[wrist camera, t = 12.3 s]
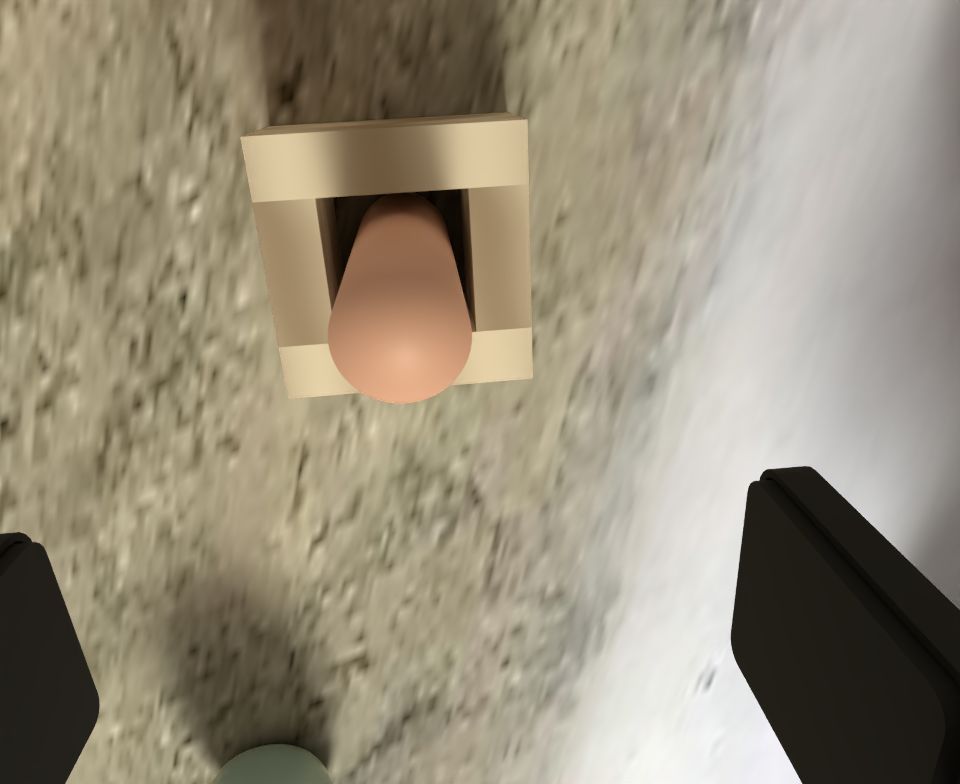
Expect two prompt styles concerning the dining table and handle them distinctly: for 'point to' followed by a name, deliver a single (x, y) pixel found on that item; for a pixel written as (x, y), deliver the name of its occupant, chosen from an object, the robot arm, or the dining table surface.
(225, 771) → the cup
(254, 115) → the dining table surface
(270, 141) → the bore block
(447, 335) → the long pin
